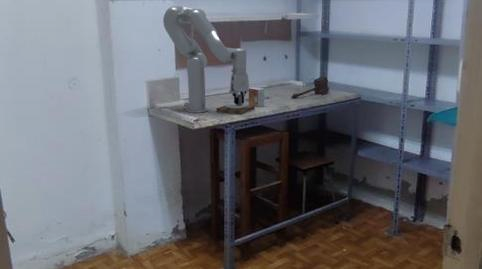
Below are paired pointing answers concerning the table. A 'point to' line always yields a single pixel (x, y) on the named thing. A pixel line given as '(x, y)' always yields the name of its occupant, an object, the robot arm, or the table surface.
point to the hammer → (317, 87)
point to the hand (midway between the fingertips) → (239, 103)
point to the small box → (256, 97)
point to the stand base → (235, 111)
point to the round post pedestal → (236, 106)
